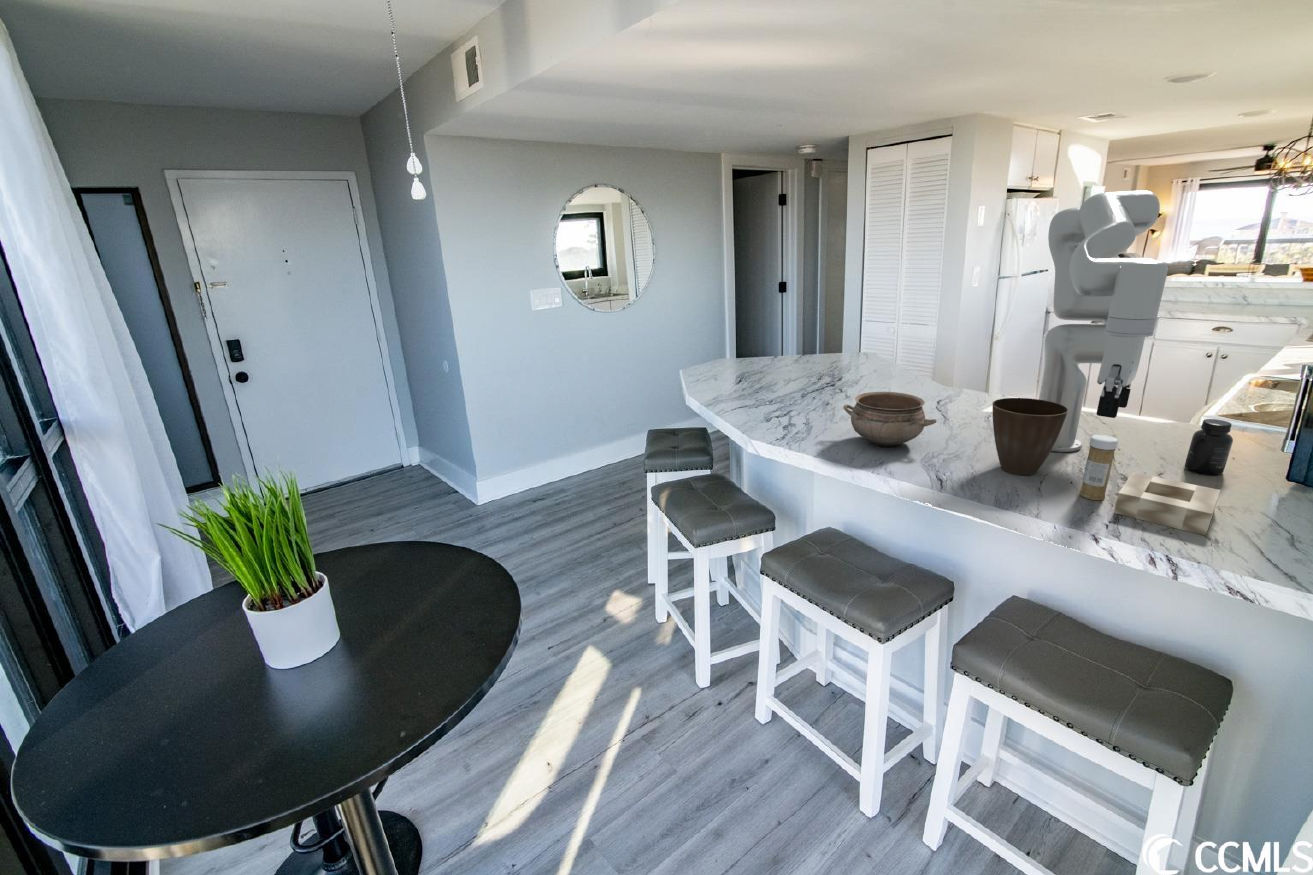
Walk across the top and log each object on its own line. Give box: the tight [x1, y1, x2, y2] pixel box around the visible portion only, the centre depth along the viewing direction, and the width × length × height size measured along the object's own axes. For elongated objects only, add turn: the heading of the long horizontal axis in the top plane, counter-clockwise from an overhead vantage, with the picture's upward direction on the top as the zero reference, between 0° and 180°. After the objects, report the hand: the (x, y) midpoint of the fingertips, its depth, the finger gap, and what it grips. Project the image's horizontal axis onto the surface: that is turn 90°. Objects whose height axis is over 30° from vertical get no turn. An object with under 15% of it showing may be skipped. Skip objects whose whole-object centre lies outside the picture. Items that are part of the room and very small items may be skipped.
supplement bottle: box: [1184, 418, 1234, 477], centre depth 136 cm, size 7×7×12 cm
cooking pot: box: [843, 391, 938, 448], centre depth 161 cm, size 25×19×12 cm
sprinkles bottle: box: [1079, 434, 1119, 501], centre depth 125 cm, size 5×5×13 cm
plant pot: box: [992, 397, 1068, 476], centre depth 140 cm, size 15×15×16 cm
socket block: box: [1113, 471, 1221, 536], centre depth 119 cm, size 14×14×4 cm
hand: (1111, 411), depth 121 cm, fingers open, 9 cm apart
